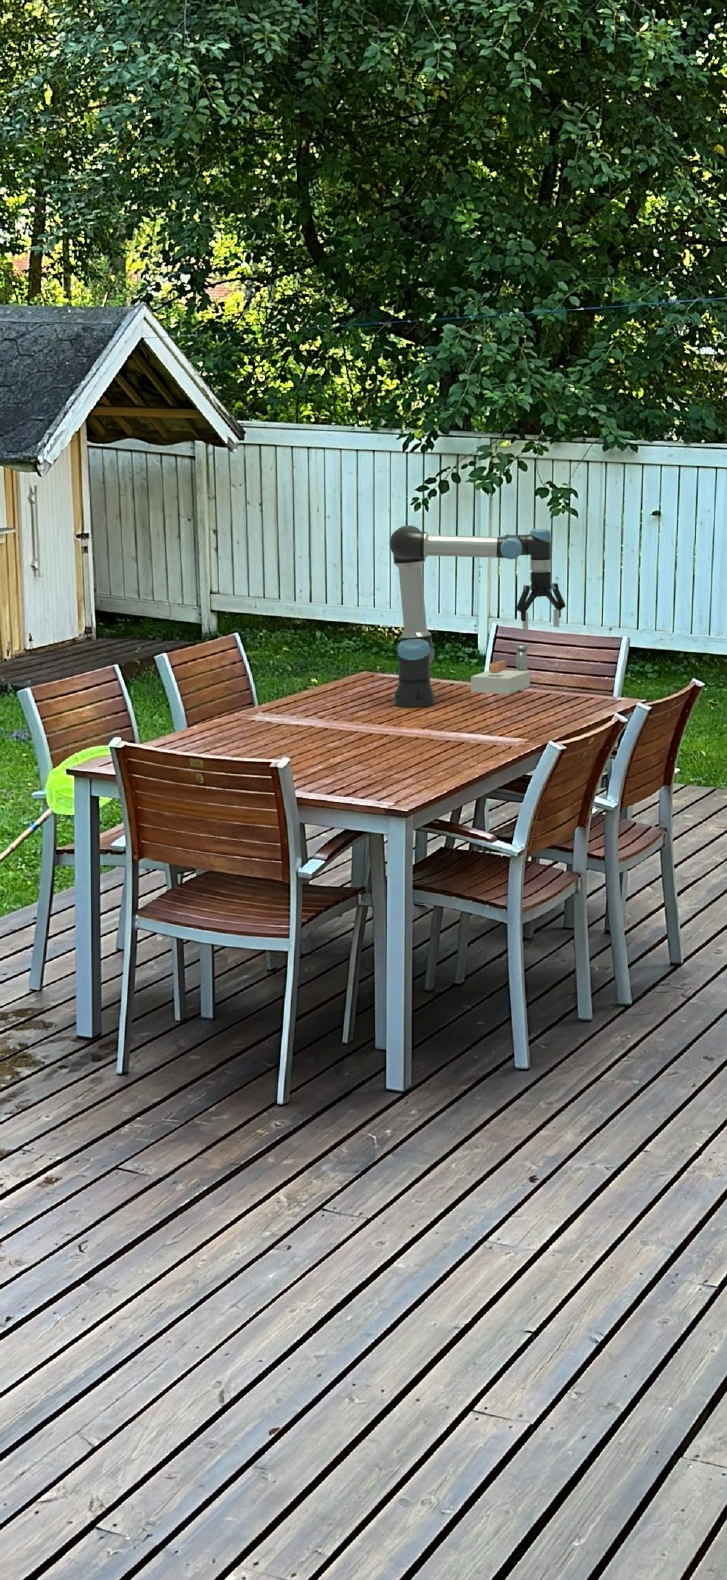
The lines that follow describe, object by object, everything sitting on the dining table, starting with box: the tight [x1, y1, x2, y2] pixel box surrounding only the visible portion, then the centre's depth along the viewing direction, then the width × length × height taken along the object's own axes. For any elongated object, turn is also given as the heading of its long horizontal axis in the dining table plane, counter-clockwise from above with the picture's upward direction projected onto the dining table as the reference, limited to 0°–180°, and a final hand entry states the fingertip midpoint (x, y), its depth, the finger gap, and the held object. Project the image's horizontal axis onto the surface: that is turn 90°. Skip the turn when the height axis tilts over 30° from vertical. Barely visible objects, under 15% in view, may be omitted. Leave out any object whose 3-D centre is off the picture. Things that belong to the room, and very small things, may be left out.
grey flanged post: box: [514, 644, 532, 677], centre depth 705 cm, size 7×7×15 cm
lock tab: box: [489, 659, 508, 672], centre depth 700 cm, size 11×4×3 cm, turn 152°
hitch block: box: [470, 669, 531, 695], centre depth 693 cm, size 16×20×6 cm
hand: (540, 628), depth 667 cm, fingers open, 13 cm apart
